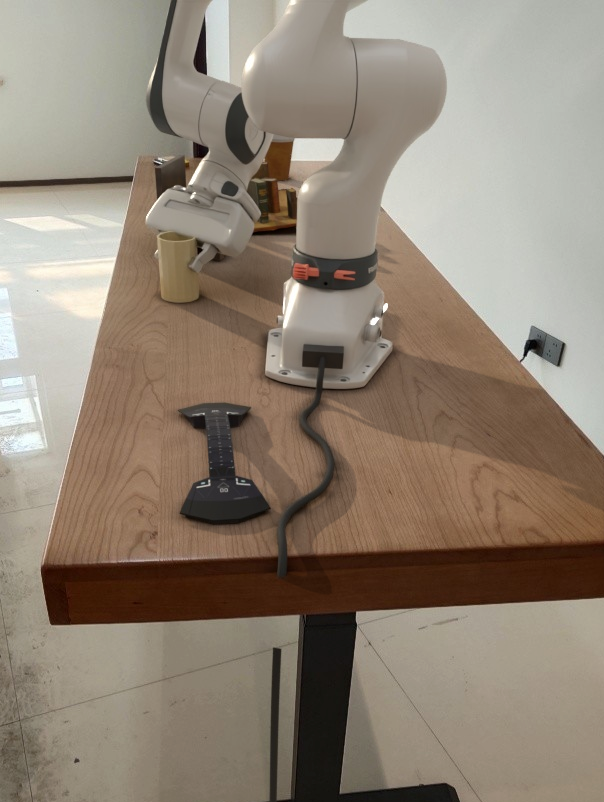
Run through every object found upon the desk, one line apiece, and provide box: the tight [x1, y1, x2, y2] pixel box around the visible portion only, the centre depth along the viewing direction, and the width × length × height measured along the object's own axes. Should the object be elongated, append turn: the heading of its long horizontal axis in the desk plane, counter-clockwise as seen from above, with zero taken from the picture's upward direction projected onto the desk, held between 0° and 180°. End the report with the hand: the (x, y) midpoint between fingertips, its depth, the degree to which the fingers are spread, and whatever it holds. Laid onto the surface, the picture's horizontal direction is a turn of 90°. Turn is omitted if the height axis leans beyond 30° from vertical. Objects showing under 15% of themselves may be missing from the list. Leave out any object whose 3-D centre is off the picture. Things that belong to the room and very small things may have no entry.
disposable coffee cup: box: [264, 134, 296, 181], centre depth 205 cm, size 10×10×12 cm
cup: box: [156, 231, 200, 304], centre depth 123 cm, size 6×6×10 cm
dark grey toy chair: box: [154, 154, 226, 262], centre depth 144 cm, size 14×12×16 cm
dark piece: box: [177, 402, 272, 525], centre depth 82 cm, size 9×25×3 cm, turn 8°
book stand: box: [247, 161, 298, 233], centre depth 167 cm, size 35×24×15 cm
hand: (175, 265), depth 122 cm, fingers closed on cup, 6 cm apart
